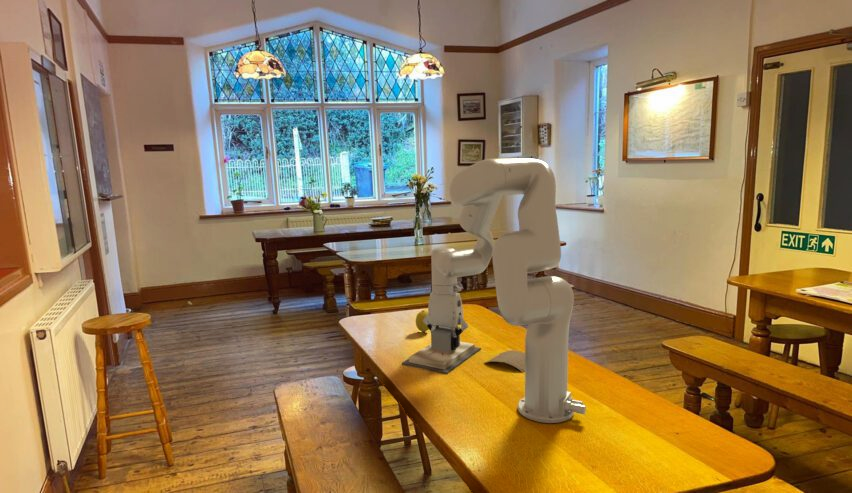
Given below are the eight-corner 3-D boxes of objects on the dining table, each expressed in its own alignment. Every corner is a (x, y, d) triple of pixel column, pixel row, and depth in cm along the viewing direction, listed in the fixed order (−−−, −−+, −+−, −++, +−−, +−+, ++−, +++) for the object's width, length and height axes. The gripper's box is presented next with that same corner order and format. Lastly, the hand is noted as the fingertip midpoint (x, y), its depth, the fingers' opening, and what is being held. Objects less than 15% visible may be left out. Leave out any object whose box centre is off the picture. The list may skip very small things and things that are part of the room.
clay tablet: (541, 364, 149) (541, 355, 149) (527, 376, 141) (527, 366, 140) (496, 354, 157) (496, 346, 157) (480, 365, 149) (480, 356, 149)
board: (439, 341, 168) (439, 336, 168) (481, 349, 160) (480, 343, 160) (401, 364, 150) (401, 357, 149) (446, 374, 142) (446, 367, 142)
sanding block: (444, 342, 161) (444, 324, 160) (460, 345, 158) (459, 326, 157) (431, 350, 154) (431, 331, 154) (447, 353, 152) (447, 334, 151)
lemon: (413, 334, 176) (413, 311, 175) (418, 329, 182) (418, 307, 180) (429, 335, 175) (428, 312, 174) (433, 330, 180) (433, 308, 179)
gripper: (476, 289, 152) (476, 348, 155) (426, 283, 161) (427, 339, 164) (464, 294, 146) (465, 356, 149) (413, 288, 155) (415, 346, 157)
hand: (445, 346), depth 156 cm, fingers closed on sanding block, 5 cm apart
